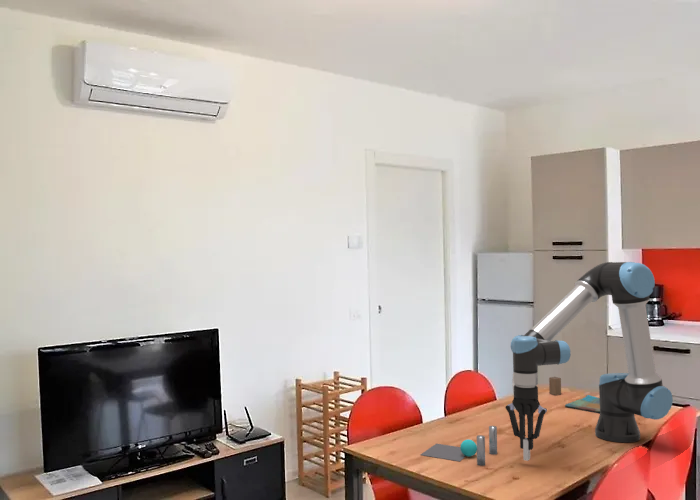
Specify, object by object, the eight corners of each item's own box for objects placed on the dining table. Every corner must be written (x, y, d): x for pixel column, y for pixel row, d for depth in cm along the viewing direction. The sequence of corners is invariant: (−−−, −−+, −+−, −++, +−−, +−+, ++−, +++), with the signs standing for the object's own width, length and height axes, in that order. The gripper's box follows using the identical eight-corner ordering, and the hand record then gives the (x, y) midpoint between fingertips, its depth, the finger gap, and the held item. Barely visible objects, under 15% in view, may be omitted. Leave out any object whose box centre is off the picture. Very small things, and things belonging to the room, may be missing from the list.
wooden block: (555, 393, 297) (554, 376, 297) (561, 394, 294) (561, 377, 294) (549, 394, 295) (548, 377, 295) (555, 395, 292) (555, 378, 292)
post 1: (486, 463, 198) (485, 435, 198) (483, 466, 196) (483, 438, 196) (478, 462, 199) (478, 434, 199) (475, 465, 197) (475, 436, 197)
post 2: (498, 452, 209) (497, 426, 209) (495, 455, 206) (495, 428, 206) (490, 451, 210) (490, 425, 210) (488, 453, 208) (487, 427, 208)
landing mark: (474, 449, 212) (474, 449, 212) (459, 461, 200) (459, 461, 200) (436, 444, 219) (436, 443, 219) (420, 455, 207) (420, 454, 207)
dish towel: (624, 405, 274) (624, 399, 274) (602, 415, 257) (602, 409, 257) (587, 399, 286) (586, 394, 286) (563, 408, 269) (563, 403, 269)
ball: (479, 438, 207) (463, 436, 209) (474, 443, 202) (458, 440, 204) (478, 455, 207) (463, 451, 210) (474, 460, 202) (457, 457, 205)
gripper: (549, 384, 196) (550, 458, 196) (508, 381, 203) (510, 452, 203) (543, 389, 190) (545, 466, 190) (502, 385, 196) (503, 459, 196)
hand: (526, 459), depth 196 cm, fingers closed
